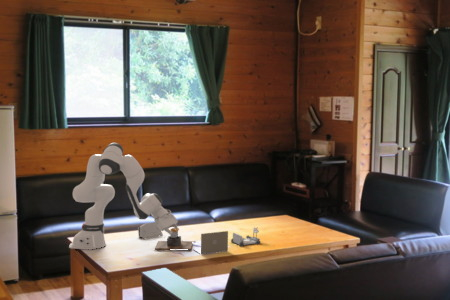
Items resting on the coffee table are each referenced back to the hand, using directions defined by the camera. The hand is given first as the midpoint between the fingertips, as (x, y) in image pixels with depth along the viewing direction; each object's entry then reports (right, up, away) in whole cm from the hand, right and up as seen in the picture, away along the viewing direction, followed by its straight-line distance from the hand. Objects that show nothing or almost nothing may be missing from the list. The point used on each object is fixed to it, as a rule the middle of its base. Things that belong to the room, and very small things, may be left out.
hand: (174, 232), depth 381 cm
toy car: (+46, -9, +13) cm, 49 cm away
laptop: (+22, -11, -7) cm, 26 cm away
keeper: (-1, -9, +1) cm, 9 cm away
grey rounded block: (-19, -7, +29) cm, 36 cm away
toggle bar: (0, -8, +1) cm, 8 cm away
